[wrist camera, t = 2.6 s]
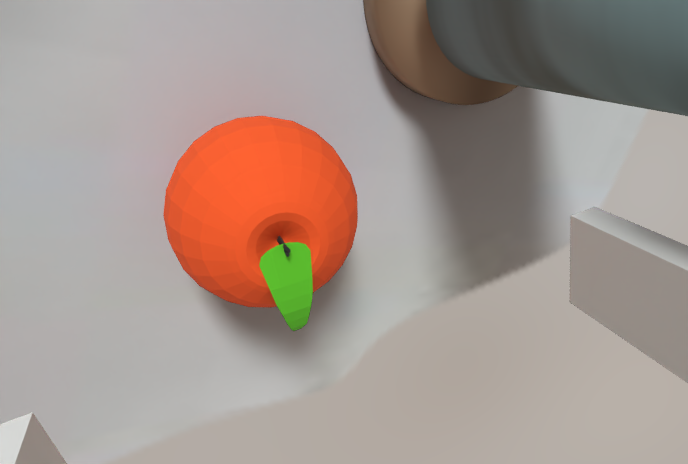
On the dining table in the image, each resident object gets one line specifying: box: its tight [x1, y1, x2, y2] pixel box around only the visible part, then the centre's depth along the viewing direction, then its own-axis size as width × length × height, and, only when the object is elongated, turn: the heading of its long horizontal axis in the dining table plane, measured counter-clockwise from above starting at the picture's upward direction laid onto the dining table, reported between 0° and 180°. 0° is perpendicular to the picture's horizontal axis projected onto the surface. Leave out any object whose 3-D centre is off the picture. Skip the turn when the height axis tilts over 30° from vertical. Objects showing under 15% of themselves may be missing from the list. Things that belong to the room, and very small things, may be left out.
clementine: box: [164, 116, 357, 331], centre depth 18 cm, size 8×7×7 cm
